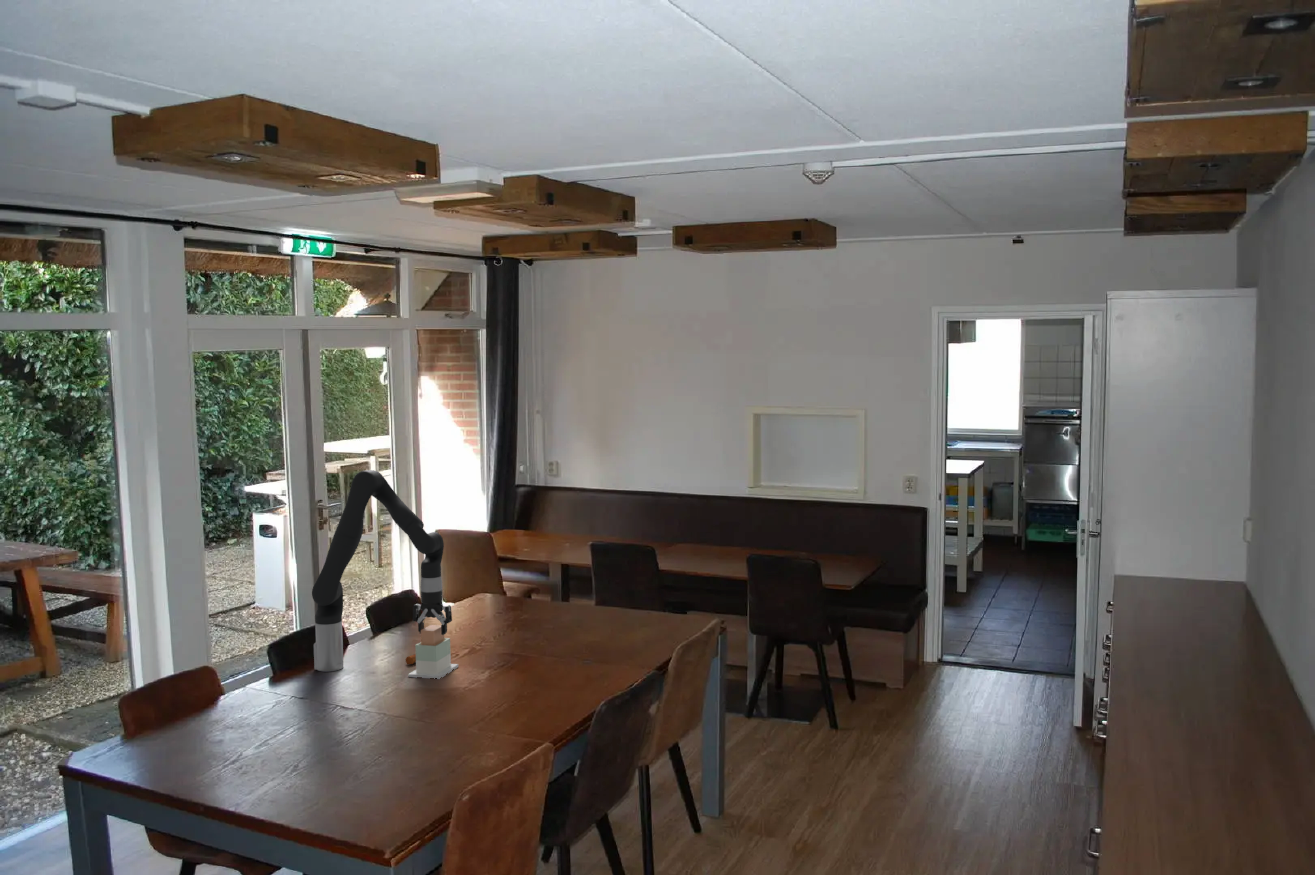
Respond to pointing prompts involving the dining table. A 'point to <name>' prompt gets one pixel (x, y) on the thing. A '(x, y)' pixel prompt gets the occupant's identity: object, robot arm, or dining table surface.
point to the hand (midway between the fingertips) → (432, 633)
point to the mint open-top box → (433, 660)
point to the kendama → (411, 659)
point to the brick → (431, 635)
